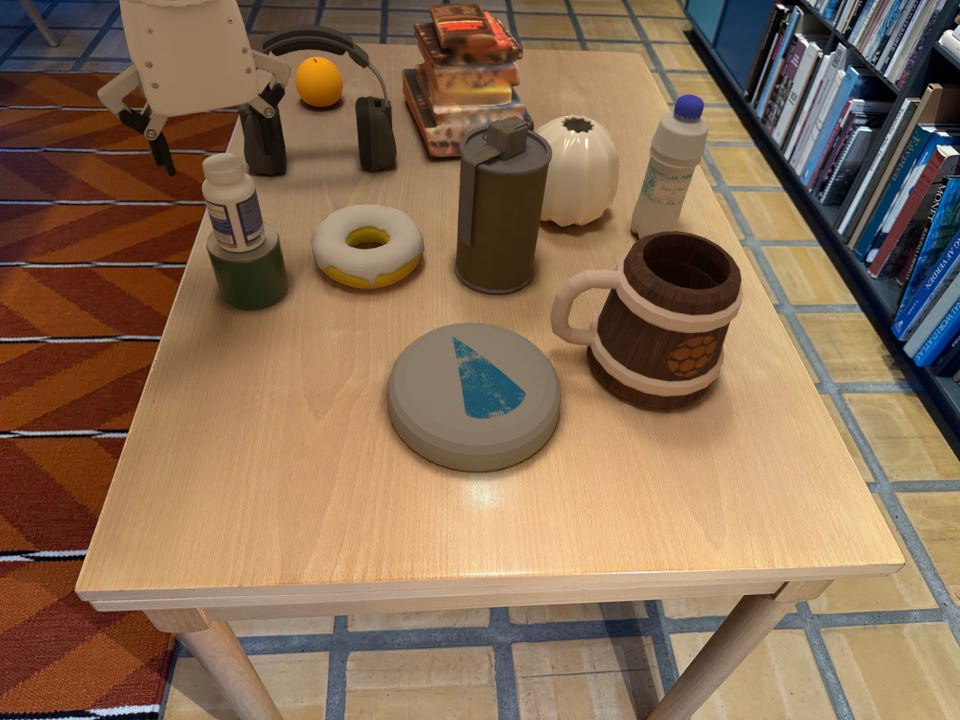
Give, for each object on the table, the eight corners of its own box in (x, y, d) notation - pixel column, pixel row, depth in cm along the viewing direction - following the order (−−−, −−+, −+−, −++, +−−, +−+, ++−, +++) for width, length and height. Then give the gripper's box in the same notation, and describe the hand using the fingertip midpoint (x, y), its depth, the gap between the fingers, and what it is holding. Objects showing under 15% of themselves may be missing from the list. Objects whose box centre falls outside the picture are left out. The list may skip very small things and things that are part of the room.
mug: (698, 321, 80) (741, 220, 69) (728, 417, 70) (784, 317, 59) (539, 312, 80) (557, 209, 69) (545, 408, 69) (568, 305, 58)
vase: (496, 205, 95) (504, 118, 85) (560, 174, 101) (575, 90, 92) (565, 251, 88) (583, 163, 78) (629, 215, 95) (652, 129, 85)
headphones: (394, 150, 103) (389, 17, 88) (398, 172, 99) (393, 36, 84) (249, 156, 99) (219, 17, 85) (247, 178, 95) (214, 37, 81)
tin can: (213, 309, 76) (197, 259, 71) (229, 266, 82) (215, 217, 76) (282, 311, 77) (271, 262, 71) (293, 268, 82) (284, 219, 77)
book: (535, 157, 104) (550, 48, 92) (426, 166, 101) (426, 54, 88) (497, 92, 119) (506, -9, 106) (401, 98, 115) (398, -7, 103)
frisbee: (507, 320, 78) (511, 289, 74) (592, 434, 67) (601, 404, 64) (362, 366, 72) (359, 334, 68) (430, 499, 61) (430, 470, 57)
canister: (495, 234, 90) (508, 93, 75) (549, 272, 85) (575, 129, 70) (435, 265, 84) (437, 120, 70) (489, 307, 80) (504, 161, 65)
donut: (434, 238, 88) (435, 207, 85) (408, 304, 79) (407, 272, 75) (336, 221, 89) (332, 190, 86) (299, 285, 80) (293, 253, 77)
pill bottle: (263, 222, 76) (246, 146, 69) (269, 249, 73) (252, 172, 66) (215, 229, 75) (192, 152, 68) (219, 257, 71) (196, 179, 64)
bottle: (631, 247, 90) (672, 109, 75) (622, 218, 94) (659, 83, 80) (678, 248, 90) (728, 111, 75) (667, 220, 95) (712, 85, 80)
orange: (346, 112, 111) (341, 68, 105) (298, 114, 109) (291, 69, 104) (343, 91, 116) (339, 48, 110) (298, 92, 114) (291, 49, 109)
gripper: (260, -50, 59) (287, 127, 72) (50, -32, 52) (119, 160, 65) (290, -24, 55) (312, 158, 68) (65, -1, 48) (137, 198, 61)
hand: (218, 159), depth 66 cm, fingers open, 9 cm apart
